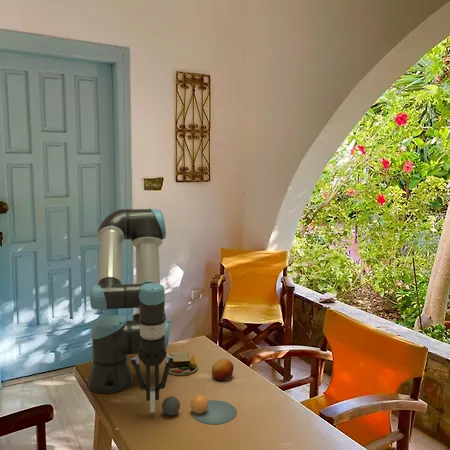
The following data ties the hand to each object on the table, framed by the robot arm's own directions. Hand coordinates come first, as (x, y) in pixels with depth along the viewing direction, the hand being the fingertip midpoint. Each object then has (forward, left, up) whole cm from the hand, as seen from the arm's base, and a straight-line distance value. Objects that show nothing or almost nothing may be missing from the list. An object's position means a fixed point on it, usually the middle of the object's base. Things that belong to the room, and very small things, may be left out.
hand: (152, 409), depth 143 cm
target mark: (+14, +12, -2) cm, 19 cm away
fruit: (+4, +34, -2) cm, 34 cm away
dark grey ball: (+4, +4, +1) cm, 6 cm away
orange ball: (+11, +9, +1) cm, 14 cm away
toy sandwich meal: (-14, +31, -3) cm, 34 cm away
